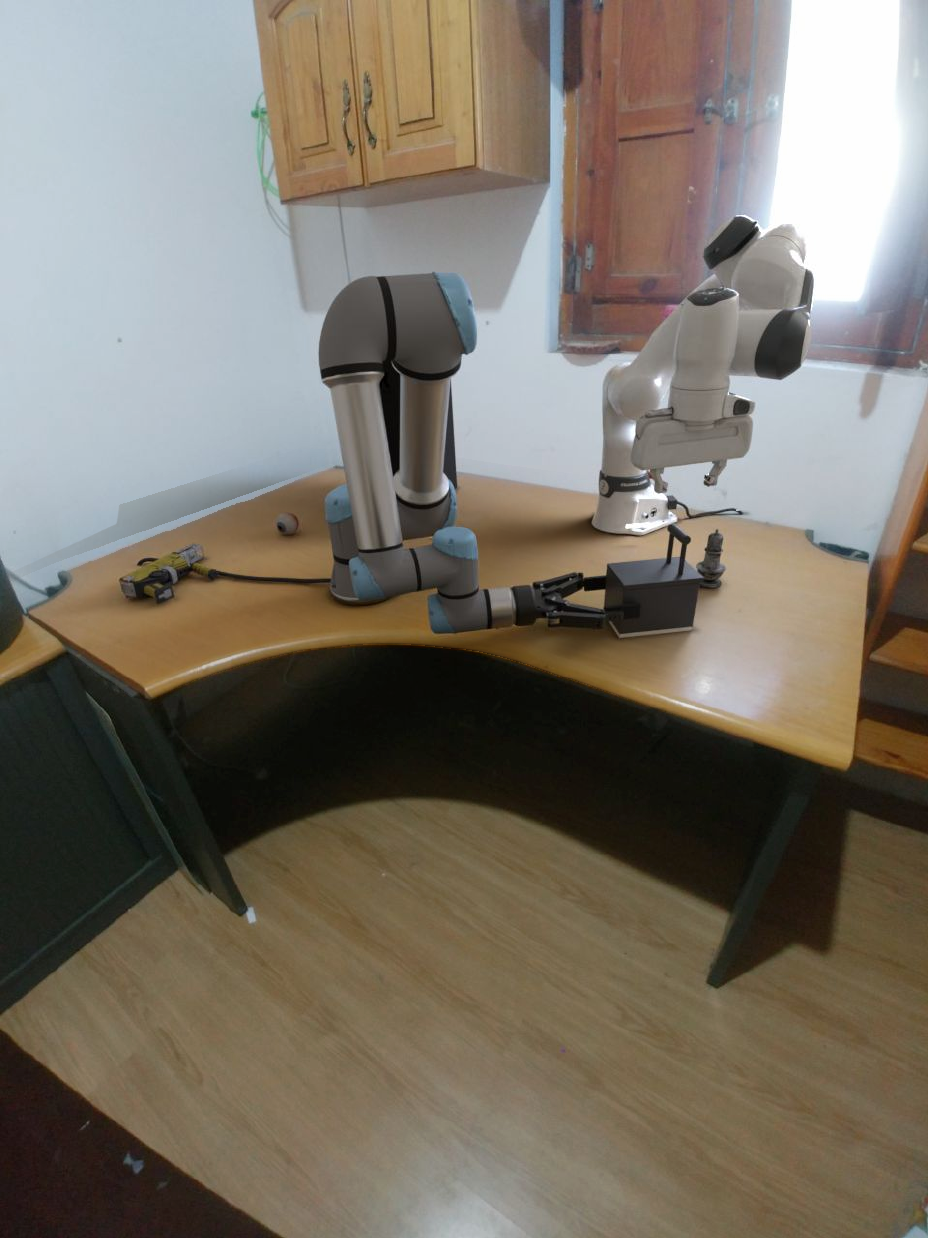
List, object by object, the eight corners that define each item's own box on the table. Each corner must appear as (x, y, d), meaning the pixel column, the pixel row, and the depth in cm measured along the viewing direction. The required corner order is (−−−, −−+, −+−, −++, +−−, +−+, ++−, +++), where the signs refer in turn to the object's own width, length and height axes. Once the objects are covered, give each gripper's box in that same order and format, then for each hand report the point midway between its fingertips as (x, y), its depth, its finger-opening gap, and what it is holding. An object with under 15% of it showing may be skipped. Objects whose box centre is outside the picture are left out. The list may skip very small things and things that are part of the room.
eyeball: (273, 537, 164) (268, 516, 161) (287, 528, 169) (282, 508, 166) (291, 539, 161) (286, 518, 158) (305, 530, 166) (301, 510, 163)
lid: (680, 560, 116) (686, 518, 111) (703, 582, 107) (710, 537, 103) (606, 568, 114) (609, 525, 110) (623, 590, 106) (627, 545, 102)
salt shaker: (725, 588, 125) (735, 534, 119) (695, 587, 126) (703, 534, 120) (720, 576, 130) (730, 523, 124) (692, 575, 131) (700, 523, 125)
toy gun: (240, 551, 148) (190, 541, 152) (168, 591, 128) (113, 578, 132) (243, 568, 150) (193, 558, 154) (172, 610, 130) (117, 597, 134)
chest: (671, 606, 120) (677, 561, 116) (692, 630, 112) (700, 583, 107) (603, 613, 119) (606, 568, 114) (619, 637, 111) (623, 590, 106)
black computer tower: (424, 530, 162) (407, 348, 139) (353, 528, 166) (326, 351, 144) (457, 486, 193) (448, 332, 171) (397, 485, 198) (380, 334, 175)
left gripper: (501, 595, 123) (606, 585, 124) (525, 658, 103) (649, 645, 104) (501, 561, 119) (608, 551, 121) (525, 620, 99) (654, 607, 100)
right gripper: (647, 415, 92) (638, 502, 99) (764, 401, 96) (748, 486, 102) (627, 407, 97) (620, 490, 104) (739, 395, 101) (726, 476, 108)
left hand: (627, 595), depth 112 cm, fingers open, 11 cm apart
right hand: (685, 488), depth 103 cm, fingers open, 8 cm apart
